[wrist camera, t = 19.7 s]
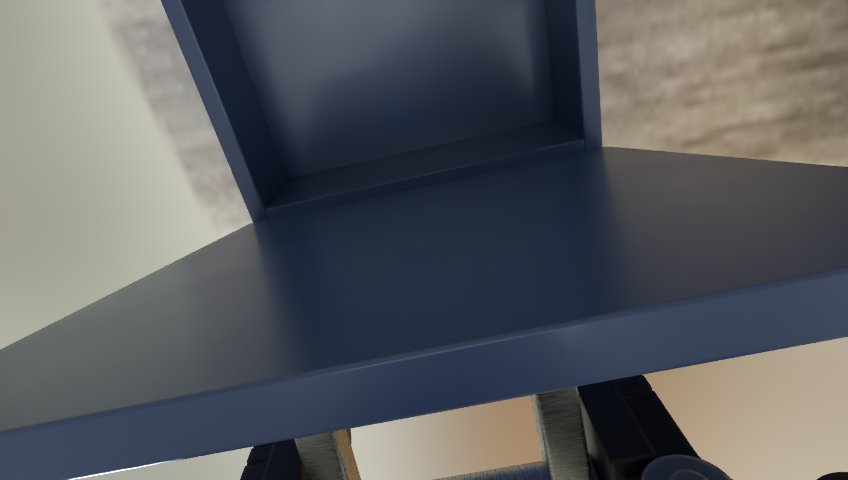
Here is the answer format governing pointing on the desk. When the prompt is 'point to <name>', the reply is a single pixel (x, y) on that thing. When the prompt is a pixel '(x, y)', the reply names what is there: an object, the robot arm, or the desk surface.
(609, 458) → the robot arm
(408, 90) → the pencil box
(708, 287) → the lid
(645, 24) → the desk surface
